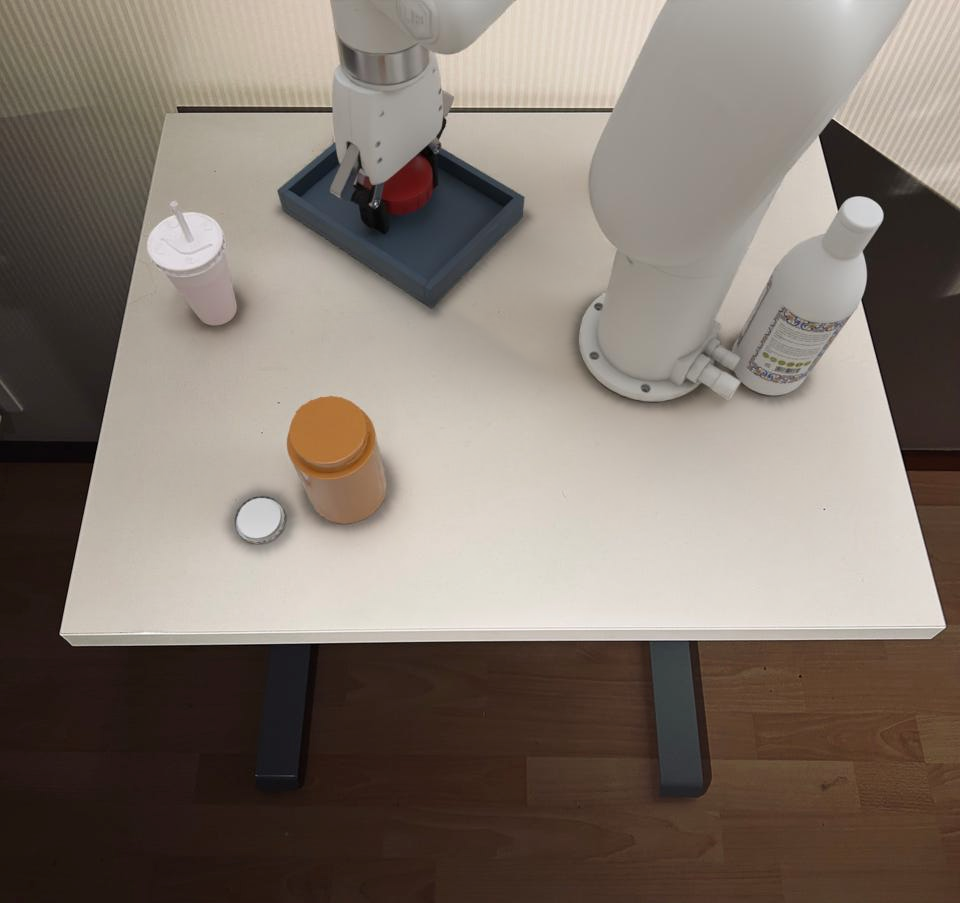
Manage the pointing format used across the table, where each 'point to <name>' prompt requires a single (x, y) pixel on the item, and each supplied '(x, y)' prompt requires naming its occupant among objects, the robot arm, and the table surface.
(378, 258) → the tray
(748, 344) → the bath foam
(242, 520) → the white grey disc
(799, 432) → the table surface
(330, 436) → the jar
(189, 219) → the smoothie
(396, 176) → the lid
